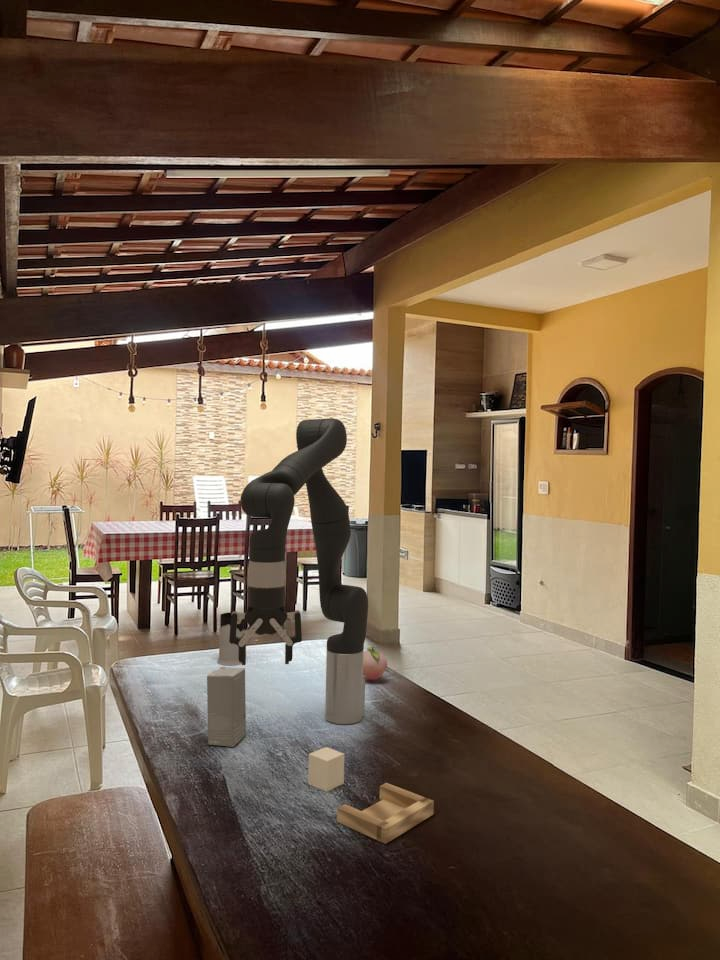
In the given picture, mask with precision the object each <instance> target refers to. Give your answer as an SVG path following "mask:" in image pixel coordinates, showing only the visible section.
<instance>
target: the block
mask: <svg viewBox="0 0 720 960" xmlns="http://www.w3.org/2000/svg"><path fill="white" fill-rule="evenodd" d="M307 771H308V773H307V775H308V776H307V778H308V779H307V785H310V786H312V787H315V788H317V789H319V790H322V791H324V792H329V791H330V790H334V789H335V788H338V787H339V786H342V785H344V783H345V753H344V752H340V751H338V750H335V749H333V748H330V747H327V746H326V747H325V746H324V747H322V748H320V749H317V750H315V751H313V752H310V753H309V754H308V769H307Z"/></svg>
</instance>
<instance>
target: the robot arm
mask: <svg viewBox="0 0 720 960" xmlns="http://www.w3.org/2000/svg"><path fill="white" fill-rule="evenodd" d="M347 435H348V434H347V429H346V427H345V424H344V423H343V422H342V421H341V420H340V419H337V418H333V417H330V418H329V417H327V418H314V419H305V420H301V421H300V422H299V423H298V425H297V426H296V435H295V439H296V440H295V441H296V446H297V447H296V448H297V450H296V451H295V452H291V453H290V454H288V455H286V456H285V457H284V458H283V459H282V460H280V461H279V462H278V463H277V465H275V467H274V468H273V469H272V470H270V471H268V472H266V473H263V474H261V475H260V476H258V477H256V478H255V479H252V480H251V481H250V482H248V484H246V486H245V487H244V488H243V490H242V492H241V495H240V507H241V510H242V512H243V513H244V514H245V515H247V516H249V517H250V518H256V519H271V521H270V524H269V526H268V527H267V528H264V529H258V530H254V531H253V532H251V534H250V535H249V543H248V544H249V545H248V546H249V547H248V549H249V550H248V552H249V553H248V555H249V556H248V567H247V578H246V584H247V591H246V593H247V596H246V597H247V598H246V603H247V604H246V611H245V612H237V611H235V610H234V611H232V612H231V613H232V614H231V624H230V638H229V642H230V643H231V644H236V645H238V647H239V662H242V664H241V666H246V665H247V664H246V663H247V661H246V660H247V659H246V658H247V643H248V641H249V640H250V639H251V638H252V637H253V636H254V634H255V635H256V634H257V635H259V636H260V635H261V636H262V635H266V634H267V635H275V634H276V633H277V634H278V635H279V636H280V638H282V640H283V641H284V644H285V646H284V647H285V648H284V649H285V650H284V652H285V653H284V663H285V665H290V662H292V660H293V652H294V651H293V647H294V645H295V644H297V643H301V642H302V640H303V639H302V638H303V636H302V618H301V617H302V615H301V611H300V610H299V609H298V610H295V611H291V612H287V610H286V584H287V583H286V582H287V578H286V573H287V572H286V564H285V558H286V557H285V554H286V553H285V551H286V550H285V549H286V547H285V545H286V537H287V533H288V529H289V524H290V521H291V519H292V518H291V517H292V514H293V511H294V509H295V508H294V507H295V503H296V501H295V496H296V495H297V493H299V491H300V490H301V489H302V488H303V487H304V486H306V492H307V498H308V504H309V506H308V507H309V515H310V521H311V522H310V523H311V528H312V530H311V531H312V535H313V539H314V544H315V545H314V547H315V553H316V559H317V560H316V562H317V569H318V570H317V571H318V589H319V592H318V593H319V594H318V595H319V604H320V609H321V612H322V615H323V617H324V618H325V619H327V620H329V621H333V622H339V623H343V628H342V632H341V633H337V634H333V635H330V636H329V637H327V640H326V661H325V662H326V663H325V664H326V667H325V703H324V704H325V706H324V708H325V710H324V712H325V713H324V714H325V715H324V718H325V720H326V721H327V722H329V723H333V724H337V725H352V724H356V723H359V722H361V720H362V719H363V718H364V717H365V714H366V713H365V711H366V709H365V707H366V705H365V703H366V678H364V675H363V652H365V651H364V650H365V649H364V645H365V641H366V638H367V629H368V628H367V627H368V626H367V625H368V616H369V615H368V613H369V600H368V599H369V598H368V594H367V591H366V590H365V589H364V588H363V587H360V586H355V585H350V584H342V582H341V573H340V564H341V561H342V557H343V556H344V553H345V552H346V549H347V547H348V545H349V542H350V539H351V534H352V531H351V530H352V529H351V528H352V527H351V522H350V515H349V510H348V506H347V504H346V502H345V501H344V499H343V498H342V496H341V495H340V494H339V493H338V491H337V490H336V489H335V487H333V485H332V484H331V483H330V482H329V480H328V478H327V476H326V475H325V472H324V471H323V470H324V469H323V468H325V466H327V465H328V464H330V463H331V462H332V461H334V460H335V459H337V458H338V457H339V456H341V455H342V454H343V453H344V452H345V449H346V446H347V442H348V441H347V440H348V438H347V437H348V436H347ZM242 619H244V621H245V622H246V623H247V625H248V627H247V628H246V629H245V632H244V634H243V635H242V636H241V638H240V637H237V636H236V629H237V624H240V623H241V620H242ZM287 619H289V620H290V622H291V624H294V635H293V636H291V635H290V634H289V633H288V631H287V630H286V628H285V626H283V625H284V624H285V622H286V621H287Z"/></svg>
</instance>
